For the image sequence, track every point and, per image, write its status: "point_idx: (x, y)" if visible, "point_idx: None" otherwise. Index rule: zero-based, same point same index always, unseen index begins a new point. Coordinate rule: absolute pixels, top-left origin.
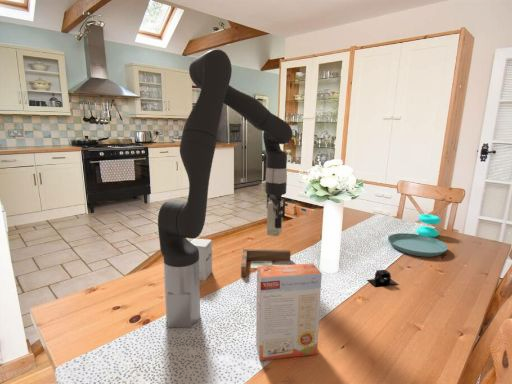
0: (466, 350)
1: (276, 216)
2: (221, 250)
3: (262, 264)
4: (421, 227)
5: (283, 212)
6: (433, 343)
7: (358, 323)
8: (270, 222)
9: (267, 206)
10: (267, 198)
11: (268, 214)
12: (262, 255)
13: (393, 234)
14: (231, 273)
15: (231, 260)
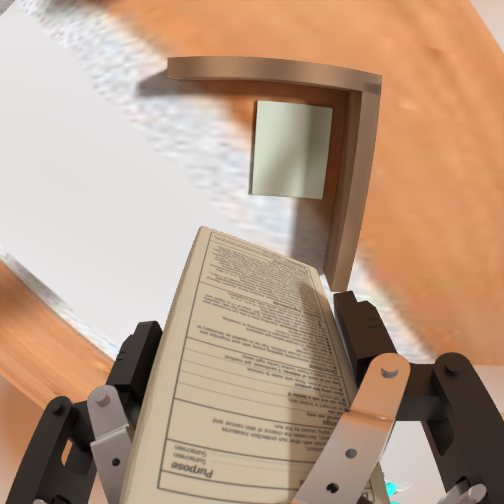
0: (39, 405)
1: (88, 402)
2: (441, 11)
3: (291, 155)
4: (388, 493)
5: (65, 464)
6: (35, 388)
7: (32, 332)
8: (169, 312)
9: (442, 385)
10: (493, 474)
11: (157, 358)
12: (346, 165)
13: (383, 474)
14: (214, 24)
15: (345, 27)
